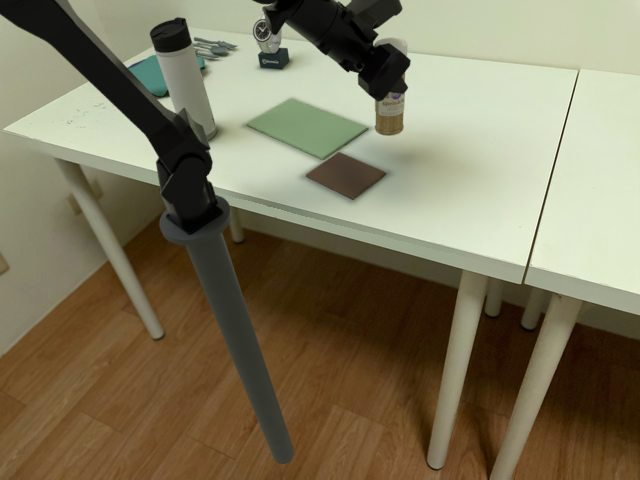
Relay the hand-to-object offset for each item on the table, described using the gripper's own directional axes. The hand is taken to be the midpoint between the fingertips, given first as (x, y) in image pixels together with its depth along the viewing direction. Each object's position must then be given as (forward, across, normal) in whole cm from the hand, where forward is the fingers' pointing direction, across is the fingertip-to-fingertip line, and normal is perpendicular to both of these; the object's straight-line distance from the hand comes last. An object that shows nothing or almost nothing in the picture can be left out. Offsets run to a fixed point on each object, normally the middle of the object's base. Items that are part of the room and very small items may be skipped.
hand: (398, 84), depth 69 cm
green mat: (+1, +16, +16) cm, 23 cm away
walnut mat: (+2, -1, +16) cm, 16 cm away
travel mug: (-11, +24, +29) cm, 39 cm away
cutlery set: (-11, +57, +29) cm, 65 cm away
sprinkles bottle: (+4, 0, +6) cm, 7 cm away
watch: (+4, +47, +14) cm, 49 cm away
